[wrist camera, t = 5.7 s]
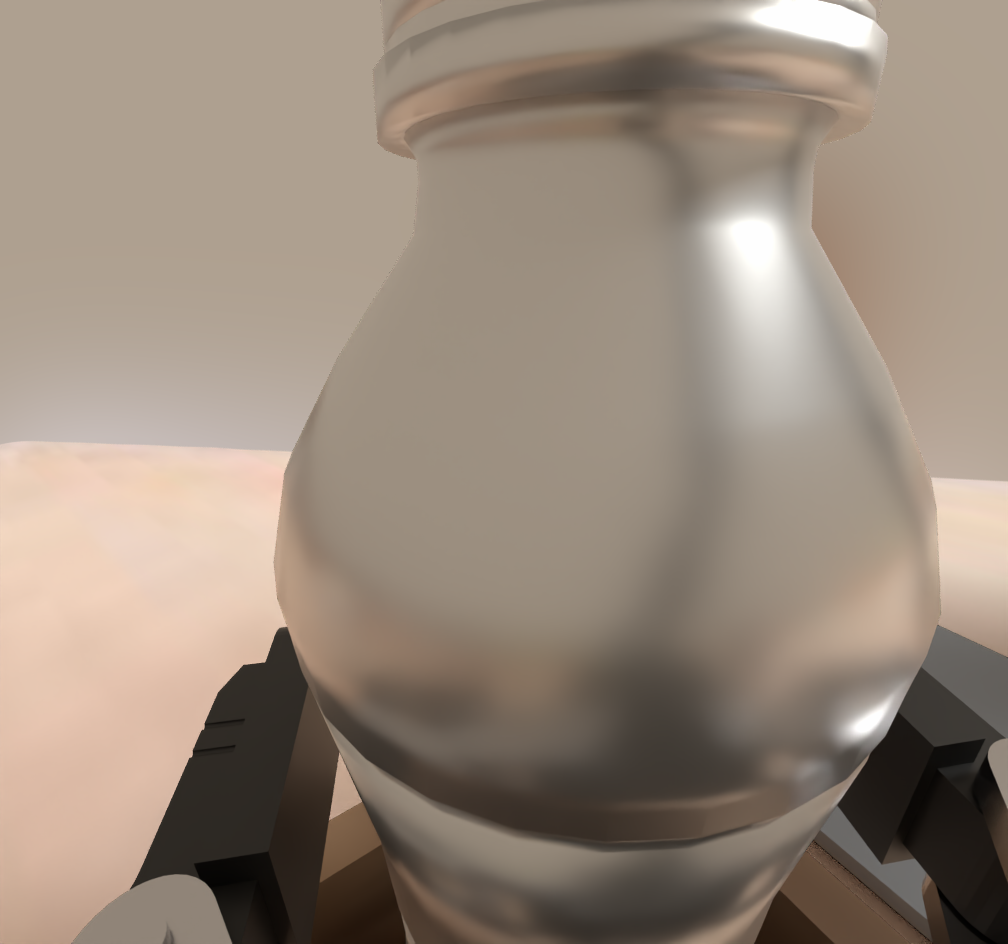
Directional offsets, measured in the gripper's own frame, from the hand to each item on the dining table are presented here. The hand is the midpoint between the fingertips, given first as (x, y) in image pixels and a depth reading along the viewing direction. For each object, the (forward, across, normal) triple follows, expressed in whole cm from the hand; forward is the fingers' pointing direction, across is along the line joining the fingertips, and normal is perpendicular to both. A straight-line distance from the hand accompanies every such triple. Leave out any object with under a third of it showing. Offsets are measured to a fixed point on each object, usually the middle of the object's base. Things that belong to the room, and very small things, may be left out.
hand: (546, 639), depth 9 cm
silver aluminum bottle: (-2, 0, +11) cm, 11 cm away
